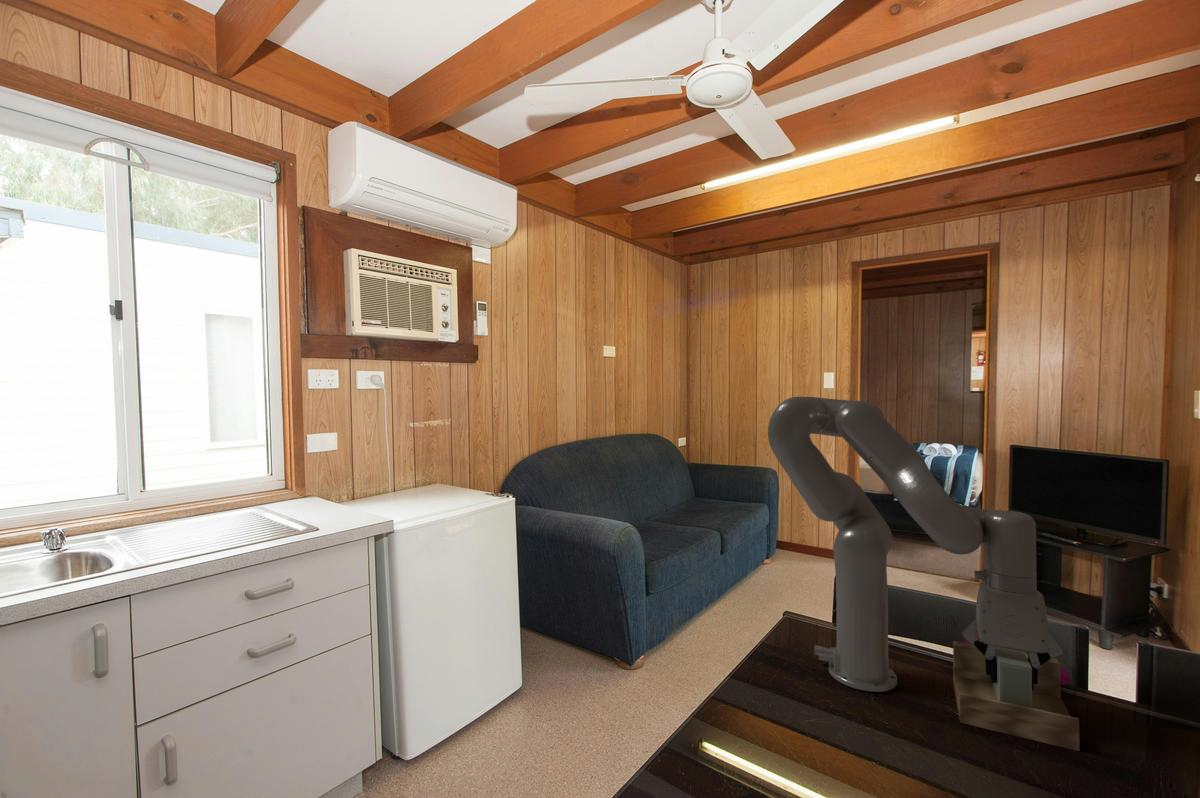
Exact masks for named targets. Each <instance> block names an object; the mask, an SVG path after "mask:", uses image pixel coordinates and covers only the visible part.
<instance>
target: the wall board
mask: <svg viewBox="0 0 1200 798" xmlns="http://www.w3.org/2000/svg"><path fill="white" fill-rule="evenodd" d="M952 647H953V648H952V652H953V653H952V654H953V655H952V657H953V658H952V659H953V660H952V661H953V662H952V663H953V664H952V665H953V666H952V669H953V670H952V671H953V673H952V674H953V675H952V677H953V681H952V682H953V684H952V686H953V691H954V697H955V702H956V706H957V713H958V720H959V723H960V724H964V725H970V726H974V727H977V728H982V729H985V730H989V731H994V732H997V733H998V732H999V733H1002V734H1006V735H1010V736H1014V737H1017V738H1018V737H1019V738H1023V739H1027V740H1031V741H1035V742H1040V743H1044V744H1048V745H1052V746H1056V747H1060V748H1065V749H1069V750H1073V751H1076V752H1077V751H1078V752H1080V718H1078V717H1074V716H1071V715H1070V713H1069V711H1068V709H1067V707H1066V705H1065V703H1064V702H1063V699H1062V697H1061V684H1060V667H1061V663H1060V661H1059V660H1058V659H1057V658H1051V659H1050V660H1049V661H1047V662H1045V663H1044V664H1042V665H1040V668H1038V685H1037V684H1034V691H1032V708H1029V707H1024V706H1020V705H1015V704H1011V703H1006V702H1002V701H998V700H997V697H996V694H995V691H994V688H993V684H992V681H991V678H990V675H986V664H985V656H984V655H983V654H982V653H981V652H980V651H979V650H978V649H977V648H976V647H975V646H974V645H973V644H969V643H964V641H956V640H953V641H952ZM1025 655H1026V657H1027V659H1028V655H1027V654H1025Z"/></svg>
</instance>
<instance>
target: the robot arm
mask: <svg viewBox="0 0 1200 798" xmlns="http://www.w3.org/2000/svg"><path fill="white" fill-rule="evenodd" d="M768 422H769V423H768V427H767V438H768V443H769V446H770V449H771V451H772V453H773V455H774V457H775V458H776V460H777V461H778V463H779V464H780V465H781V467H782V468H783V470H784V471H785V473H786V474H787V476H788V477H789V479H790V480H791V483H792V484H793V485H794V487H795V489H797V491H798V493H799V494H800V496H801V497H802V498H803V501H805V504H806V505H807V506H808V508H809V509H810V511H811V512H812V513H813V515H815V517H817V518H818V519H819V520H821V521H825V522H828V523H829V522H830V523H831V522H832V524H834V526H835V527H836V528H837V530H838V532H837V534H836V536H835V539H834V542H833V562H834V569H835V572H834V573H835V597H836V598H835V599H836V644H835V647H833V646H830V647H829V648H828V647H824V646H822V645H817V644H814V648H813V652H814V653H813V654H814V655H815V656H818V660H819V661H824V662H829V663H828V672H829V674H830V676H832V678H833V679H835V680H836V681H837V682H839V683H841V684H843V685H845V686H847V687H850V688H852V689H856V690H860V691H864V692H870V693H883V692H888V691H892V690H893V689H895V688H896V687H897V686H898V676H897V675H896V673H895V672H894V670H893V669H891V668H890V667H889V602H888V598H889V597H888V595H889V594H888V590H889V589H888V573H887V572H888V571H887V568H888V567H887V560H888V555H889V552H890V550H891V547H892V544H893V534H892V531H891V529H890V526H889V525H888V523H887V522H886V519H884V518H883V516H882V515H881V513H880V512H879V510H878V509H877V508H876V507H875V504H873V502H872V500H871V499H870V498H869V497H868V496H867V494H866V492H865V491H864V489H862V487H861V486H860V485H859V483H858V482H856V480H855V479H853V478H852V477H851V476H850V475H848V474H845V473H843V472H838V471H835V470H834V469H833V468H832V466H831V464H830V463H829V462H828V460H827V459H826V457H825V456H824V455H823V453H822V452H821V451H820V449H818V447H817V446H816V445H815V444H814V443H813V441H812V438H811V436H810V435H812V434H813V435H822V436H829V437H836V438H843V440H844V441H845V442H846V443H847V444H848V445H849V446H850V447H851V448H852V449H853V450H854V451H855V452H856V453H857V455H859V457H860V458H861V459H862V460H863V461H864V462H865V463H866V464H867V465H868V467H869V468H870V469H872V470H873V472H874V473H875V475H877V476H878V478H879V479H881V480H882V482H883V483H884V485H885V486H886V487H887V489H888V490H889V491H890V492H891V493H892V495H893V496H894V498H896V499H897V501H898V502H899V503H900V504H901V506H902V507H903V508H904V510H905V512H907V513H908V514H909V516H910V517H911V518H912V519H913V520H914V522H916V524H918V526H919V527H920V528H921V529H922V530H923V531H924V532H925V533H926V534H927V535H928V537H930V538H931V540H932V541H933V542H934V543H935V544H936V545H938V546H939V547H940V548H941V549H943V550H945V551H946V552H948V553H950V554H955V555H959V556H961V555H968V554H971V553H974V552H975V551H977V550H978V549H979V547H981V546H982V547H983V567H982V569H981V570H974V571H973V572H974V578H975V579H979V580H981V581H982V582H981V583H980V584H979V587H978V591H977V599H976V606H975V607H976V608H975V619H974V620H972V621H971V623H970V624H968V626H967V627H966V628H964V630H962V632H961V633H962V637H963V638H964V640H968V641H969V642H970V643H972V644H973V645H974V646H975V647H976V648H977V649H978V650H979V651H980V652H981V653H982V654H983V655H984V656H985V664H986V675H990V678H991V681H992V683H997V662H996V659H995V656H994V653H995V650H996V647H1002V648H1008V649H1014V650H1019V651H1025V652H1027V655H1028V661H1029V663H1030V665H1031V667H1032V691H1034V684H1037V685H1038V668H1040V665H1042V664H1044V663H1045V662H1047V661H1049V660H1050V659H1051V658H1052V659H1055V658H1056V657H1059V656H1061V655H1063V653H1064V651H1063V650H1062V648H1061V647H1060V645H1059V644H1058V643H1057V641H1056V640H1055V639H1054V638H1053V636H1051V634H1050V632H1049V622H1048V615H1047V614H1048V613H1047V608H1046V603H1045V599H1044V595H1043V594H1042V592H1040V591H1039V590H1037V589H1038V587H1037V584H1038V583H1037V527H1036V521H1035V519H1034V518H1033V517H1032V516H1031V515H1030V514H1027V513H1026V512H1025V513H1023V512H1021V511H1020V512H1019V511H1015V510H1001V509H999V510H991V509H990V510H989V509H984V508H979V507H974V506H971V505H970V506H969V505H964V504H959V503H958V502H957V501H956V500H955V499H954V498H953V497H951V495H949V493H948V492H947V491H946V490H945V489H944V488H943V487H942V485H941V484H940V483H939V481H937V480H936V477H934V476H933V475H934V474H932V471H931V470H930V468H929V467H928V465H927V463H926V461H925V459H924V458H923V456H922V455H921V454H920V452H918V450H917V449H915V447H913V446H912V445H911V444H910V443H909V441H907V440H906V439H905V437H903V436H902V434H900V433H899V432H898V431H897V430H896V429H895V428H894V426H893V425H892V424H890V422H889V421H888V420H887V419H886V418H885V415H884V413H883V411H882V409H880V408H879V406H878V405H876V404H874V403H873V402H870V401H865V400H849V399H848V400H847V399H836V398H825V397H817V396H816V397H815V396H792V397H789V398H786V399H785V400H783V401H782V402H781V403H779V404H778V405H777V407H776V408H775V409H774V411H773V412H772V414H771V416H770V419H769V421H768ZM976 632H977V635H978V638H979V639H978V638H976V637H975V636H974V634H975V633H976ZM984 643H985V644H984Z"/></svg>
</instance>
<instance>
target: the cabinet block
mask: <svg viewBox="0 0 1200 798" xmlns="http://www.w3.org/2000/svg"><path fill="white" fill-rule="evenodd" d="M994 656H995V659H996V662H997V683H992V684H993V688H994V691H995V694H996V697H997V700H998V701H1002V702H1006V703H1011V704H1015V705H1020V706H1024V707H1029V708H1032V667H1031V665H1030V663H1029V661H1028V659H1027V657H1026V655H1025V653H1024V651H1019V650H1014V649H1008V648H1002V647H996V650H995V653H994Z"/></svg>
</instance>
